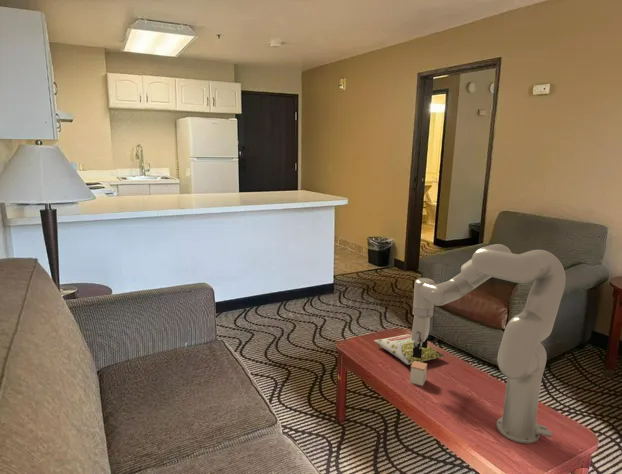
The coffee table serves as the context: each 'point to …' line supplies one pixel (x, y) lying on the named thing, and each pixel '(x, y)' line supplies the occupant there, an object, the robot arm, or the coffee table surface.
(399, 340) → the frozen beans
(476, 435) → the coffee table surface
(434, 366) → the coffee table surface
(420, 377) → the salmon block
